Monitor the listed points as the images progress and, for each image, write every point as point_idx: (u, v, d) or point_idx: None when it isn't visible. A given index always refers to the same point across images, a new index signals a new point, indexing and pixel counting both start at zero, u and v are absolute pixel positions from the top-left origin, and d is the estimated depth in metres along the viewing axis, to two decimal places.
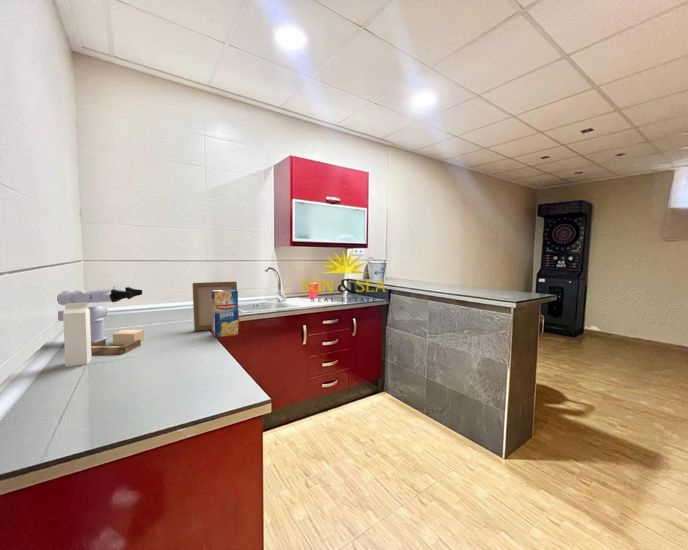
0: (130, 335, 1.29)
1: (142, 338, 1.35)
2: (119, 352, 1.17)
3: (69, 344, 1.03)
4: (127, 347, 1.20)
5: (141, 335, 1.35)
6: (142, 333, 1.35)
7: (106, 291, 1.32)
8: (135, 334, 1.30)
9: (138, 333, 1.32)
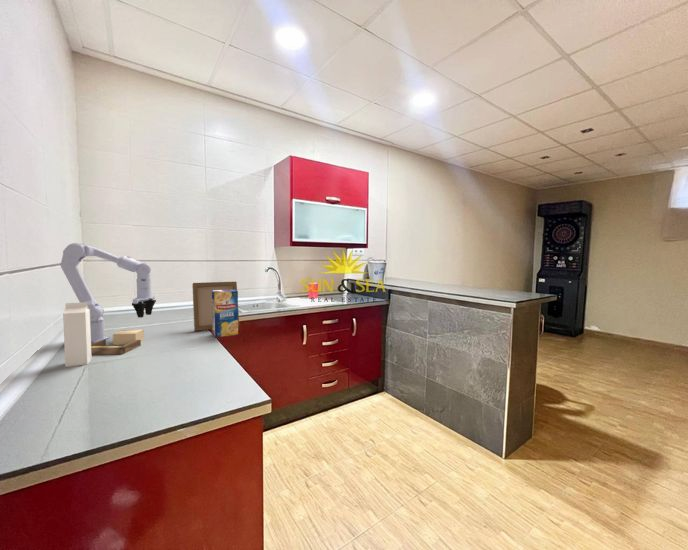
0: (131, 335, 1.30)
1: (142, 338, 1.36)
2: (119, 352, 1.17)
3: (69, 344, 1.03)
4: (127, 347, 1.20)
5: (142, 335, 1.35)
6: (142, 333, 1.36)
7: (145, 293, 1.42)
8: (136, 334, 1.31)
9: (139, 333, 1.33)
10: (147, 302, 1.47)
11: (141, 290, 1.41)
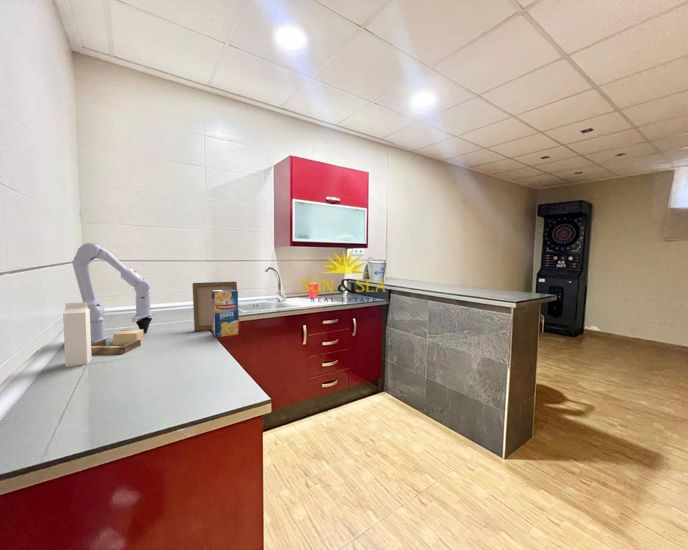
0: (132, 335, 1.30)
1: (142, 338, 1.36)
2: (119, 352, 1.17)
3: (69, 344, 1.03)
4: (127, 347, 1.20)
5: (142, 335, 1.36)
6: (142, 333, 1.36)
7: (145, 310, 1.41)
8: (137, 334, 1.31)
9: (139, 333, 1.33)
10: None
11: (140, 308, 1.40)
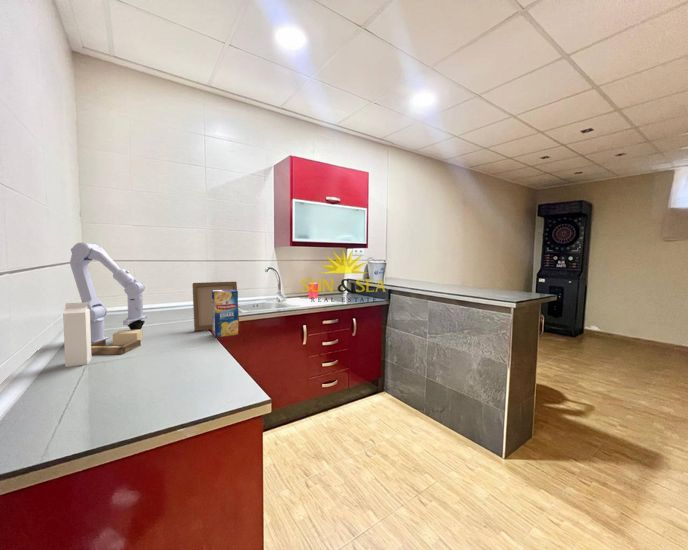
0: (132, 335, 1.29)
1: (141, 337, 1.36)
2: (119, 352, 1.17)
3: (69, 344, 1.03)
4: (127, 347, 1.20)
5: (141, 335, 1.35)
6: (141, 332, 1.36)
7: (137, 313, 1.35)
8: (137, 333, 1.31)
9: (139, 332, 1.33)
10: None
11: (132, 310, 1.34)
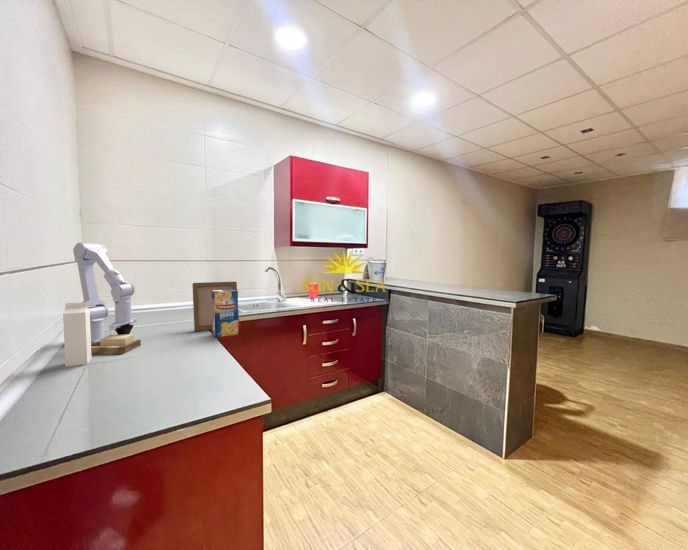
0: (120, 340, 1.21)
1: None
2: (119, 352, 1.17)
3: (69, 344, 1.03)
4: (127, 347, 1.20)
5: (131, 340, 1.27)
6: (132, 338, 1.27)
7: (125, 316, 1.27)
8: (126, 339, 1.22)
9: (128, 338, 1.24)
10: None
11: (120, 314, 1.26)
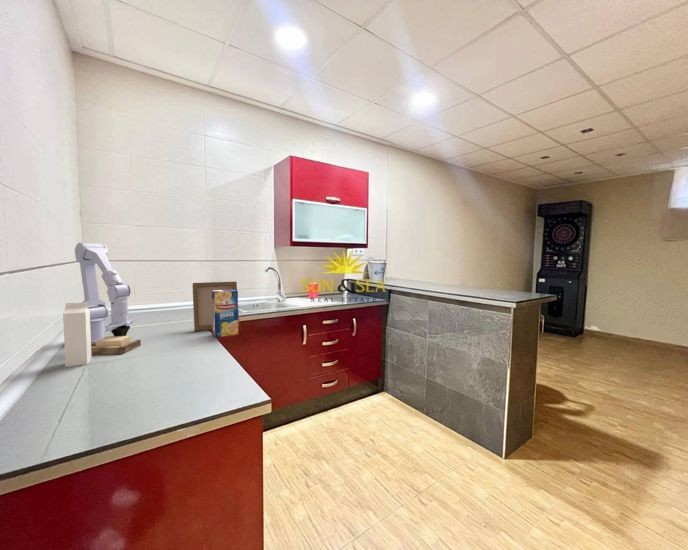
0: (116, 342, 1.19)
1: None
2: (119, 352, 1.17)
3: (69, 344, 1.03)
4: (127, 347, 1.20)
5: (128, 342, 1.25)
6: (128, 339, 1.25)
7: (121, 318, 1.25)
8: (122, 341, 1.20)
9: (124, 340, 1.22)
10: None
11: (116, 315, 1.24)
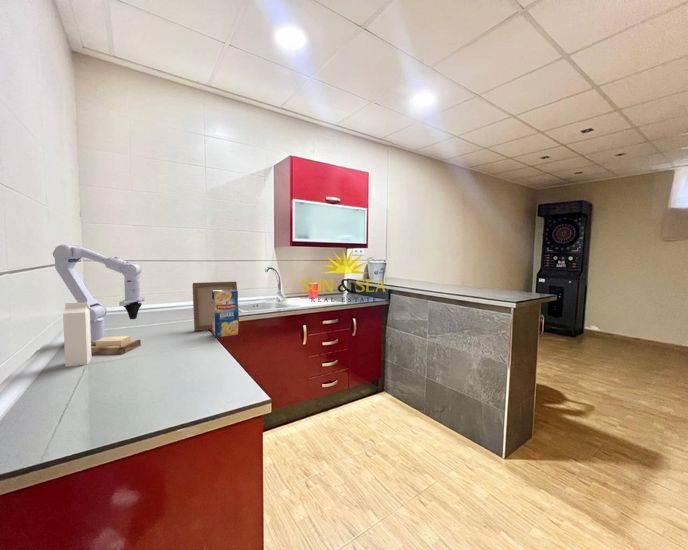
0: (116, 342, 1.19)
1: None
2: (119, 352, 1.17)
3: (69, 344, 1.03)
4: (127, 347, 1.20)
5: (128, 342, 1.25)
6: (128, 339, 1.25)
7: (134, 294, 1.35)
8: (122, 341, 1.20)
9: (125, 340, 1.22)
10: None
11: (129, 292, 1.34)
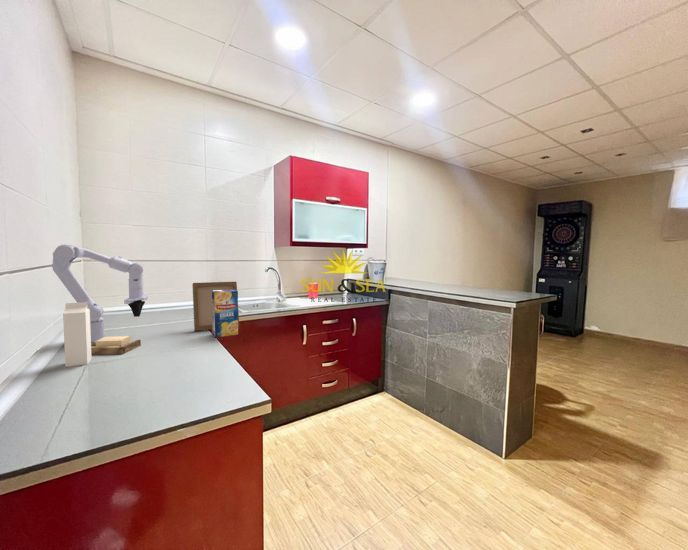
0: (116, 342, 1.19)
1: None
2: (119, 352, 1.17)
3: (69, 344, 1.03)
4: (127, 347, 1.20)
5: (128, 342, 1.25)
6: (128, 339, 1.25)
7: (138, 293, 1.40)
8: (122, 341, 1.20)
9: (125, 340, 1.22)
10: None
11: (133, 290, 1.39)
